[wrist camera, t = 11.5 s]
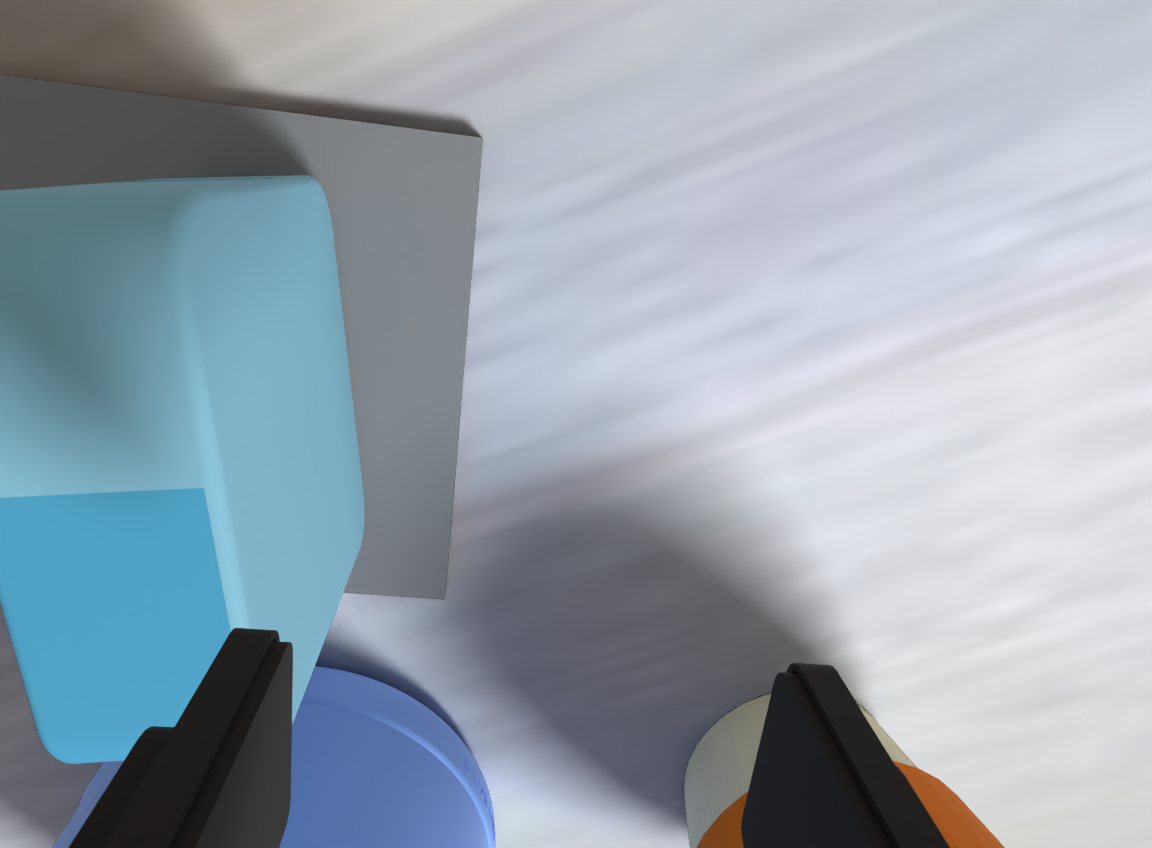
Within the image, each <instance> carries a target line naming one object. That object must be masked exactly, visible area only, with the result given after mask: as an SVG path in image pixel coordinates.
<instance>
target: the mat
mask: <svg viewBox="0 0 1152 848" xmlns="http://www.w3.org/2000/svg"><path fill="white" fill-rule="evenodd" d="M482 143H483V138H481V137H473V136H466V135H458V134H450V133H443V132H435V131H428V130H420V129H412V128H405V127H397V126H389V125H382V124H374V123H366V122H359V121H351V120H343V119H336V118H328V117H320V116H313V115H305V114H298V113H290V112H282V111H275V110H267V109H259V108H252V107H244V106H236V105H229V104H221V103H213V102H206V101H198V100H191V99H183V98H175V97H168V96H160V95H152V94H145V93H137V92H129V91H122V90H114V89H106V88H99V87H91V86H84V85H76V84H68V83H61V82H53V81H45V80H38V79H30V78H22V77H15V76H7V75H0V191H3V190H16V189H30V188H43V187H57V186H70V185H84V184H97V183H110V182H124V181H137V180H151V179H169V178H210V177H250V176H291V175H308V176H311V177H313V178H315V179H316V180H317V181H318V182H319V184H320V185H321V187H322V189H323V191H324V193H325V196H326V199H327V202H328V206H329V210H330V215H331V221H332V227H333V235H334V244H335V252H336V261H337V269H338V278H339V286H340V295H341V304H342V312H343V321H344V329H345V338H346V346H347V355H348V363H349V372H350V381H351V389H352V398H353V406H354V415H355V423H356V432H357V440H358V449H359V458H360V466H361V475H362V483H363V492H364V531H363V539H362V543H361V547H360V550H359V553H358V555H357V558H356V560H355V563H354V566H353V568H352V571H351V573H350V576H349V579H348V581H347V584H346V586H345V589H344V592H343V593H356V594H370V595H385V596H400V597H415V598H430V599H445V592H446V583H447V571H448V559H449V547H450V534H451V522H452V510H453V498H454V485H455V473H456V461H457V449H458V437H459V424H460V412H461V400H462V388H463V375H464V363H465V351H466V339H467V326H468V314H469V302H470V290H471V277H472V265H473V253H474V241H475V228H476V216H477V204H478V192H479V179H480V167H481V155H482Z"/></svg>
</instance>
